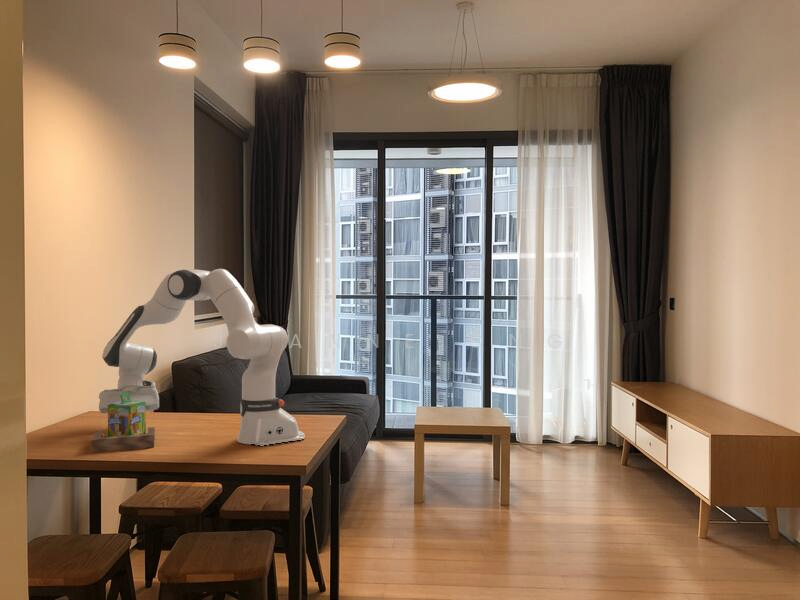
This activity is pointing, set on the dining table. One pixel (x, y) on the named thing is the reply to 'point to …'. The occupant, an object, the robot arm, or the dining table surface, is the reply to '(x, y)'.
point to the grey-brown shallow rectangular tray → (122, 441)
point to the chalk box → (126, 417)
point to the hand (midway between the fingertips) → (129, 419)
